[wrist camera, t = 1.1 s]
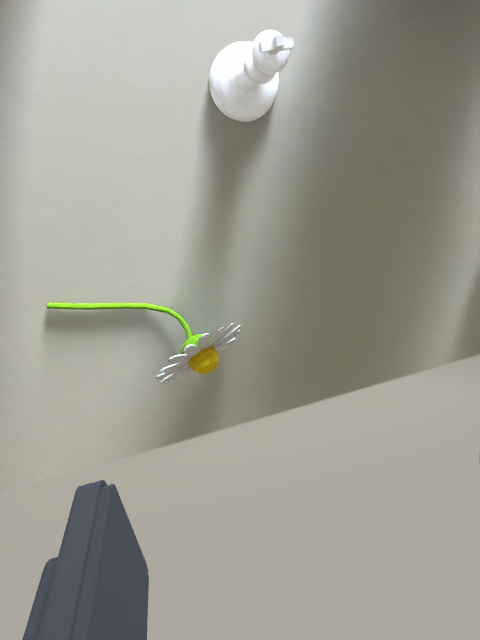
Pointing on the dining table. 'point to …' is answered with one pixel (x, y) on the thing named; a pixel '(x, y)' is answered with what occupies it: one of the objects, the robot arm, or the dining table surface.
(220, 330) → the decorative flower
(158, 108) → the dining table surface
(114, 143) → the dining table surface
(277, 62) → the chess piece
